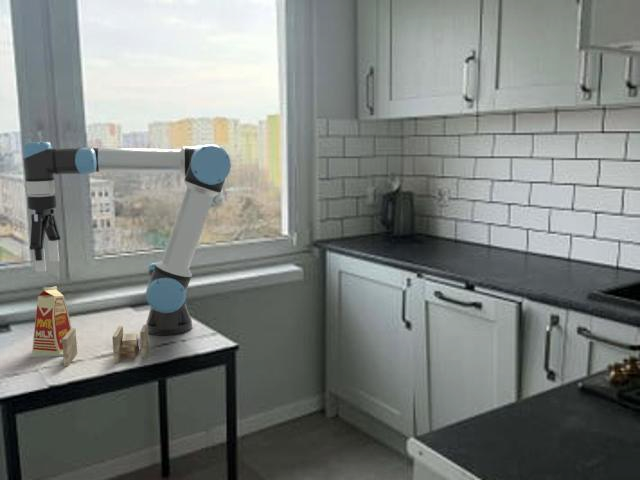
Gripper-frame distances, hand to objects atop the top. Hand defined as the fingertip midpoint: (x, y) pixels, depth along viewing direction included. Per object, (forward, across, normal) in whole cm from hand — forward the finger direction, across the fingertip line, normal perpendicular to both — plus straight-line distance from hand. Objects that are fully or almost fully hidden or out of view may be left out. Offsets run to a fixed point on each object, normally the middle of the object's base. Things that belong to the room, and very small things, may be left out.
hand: (48, 266), depth 179 cm
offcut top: (+23, +7, +23) cm, 34 cm away
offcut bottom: (+27, +7, +23) cm, 36 cm away
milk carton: (+26, 0, 0) cm, 26 cm away
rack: (+27, +9, +17) cm, 33 cm away
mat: (+26, 0, 0) cm, 26 cm away
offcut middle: (+25, +7, +23) cm, 35 cm away
